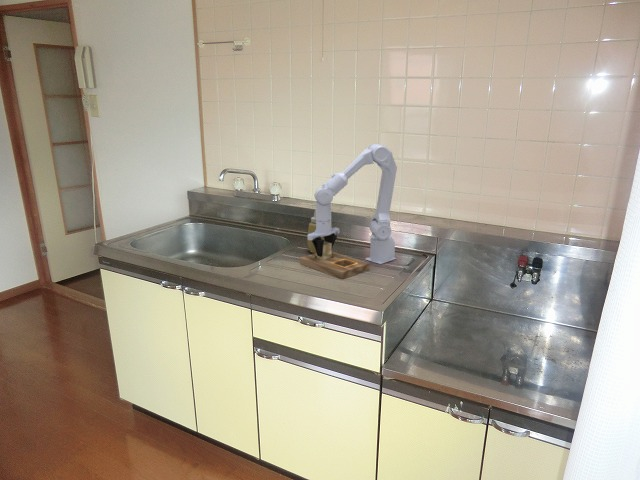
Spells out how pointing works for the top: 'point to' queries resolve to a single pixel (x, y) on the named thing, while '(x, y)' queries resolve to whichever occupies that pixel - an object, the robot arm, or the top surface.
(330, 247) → the peg
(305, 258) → the wooden peg tray
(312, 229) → the squeeze bottle
